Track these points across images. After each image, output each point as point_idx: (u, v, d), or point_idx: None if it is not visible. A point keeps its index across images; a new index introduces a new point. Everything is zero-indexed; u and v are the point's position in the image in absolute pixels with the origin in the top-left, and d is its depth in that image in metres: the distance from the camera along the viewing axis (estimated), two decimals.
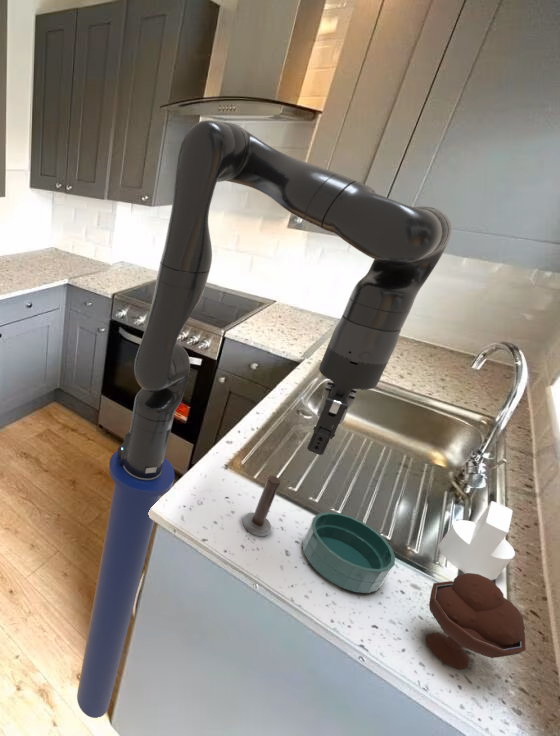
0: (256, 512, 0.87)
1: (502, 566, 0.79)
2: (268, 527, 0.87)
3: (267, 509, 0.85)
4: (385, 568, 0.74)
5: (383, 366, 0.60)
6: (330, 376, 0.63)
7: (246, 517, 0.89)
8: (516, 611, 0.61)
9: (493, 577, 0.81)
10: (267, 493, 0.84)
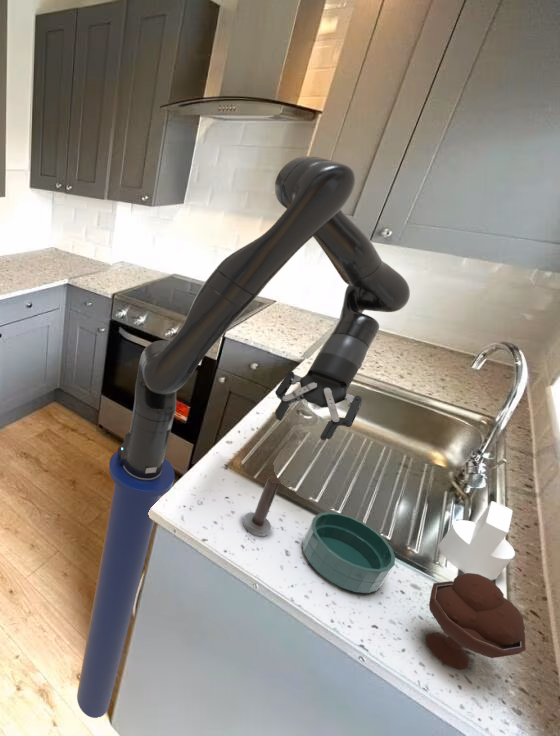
0: (256, 512, 0.87)
1: (502, 566, 0.79)
2: (268, 527, 0.87)
3: (267, 509, 0.85)
4: (385, 568, 0.74)
5: None
6: (346, 380, 0.84)
7: (246, 517, 0.89)
8: (516, 611, 0.61)
9: (493, 577, 0.81)
10: (267, 493, 0.84)
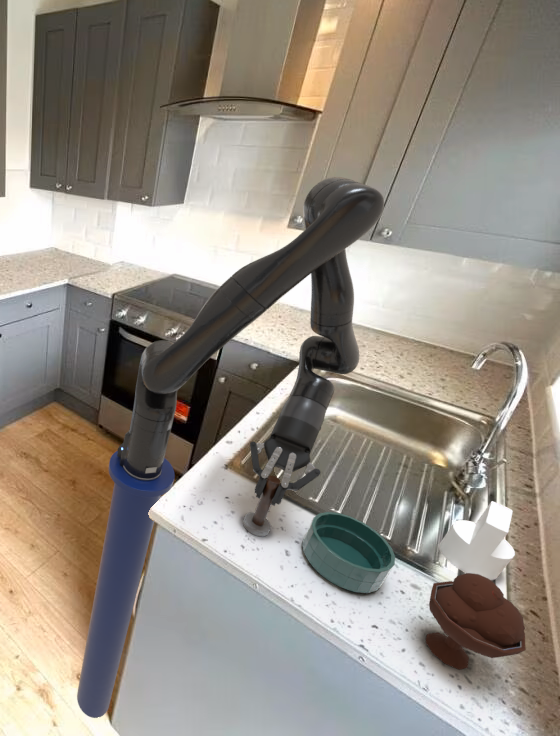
0: (256, 512, 0.87)
1: (502, 566, 0.79)
2: (268, 527, 0.87)
3: (267, 509, 0.85)
4: (385, 568, 0.74)
5: None
6: (309, 445, 0.83)
7: (246, 517, 0.89)
8: (516, 611, 0.61)
9: (493, 577, 0.81)
10: (267, 493, 0.84)
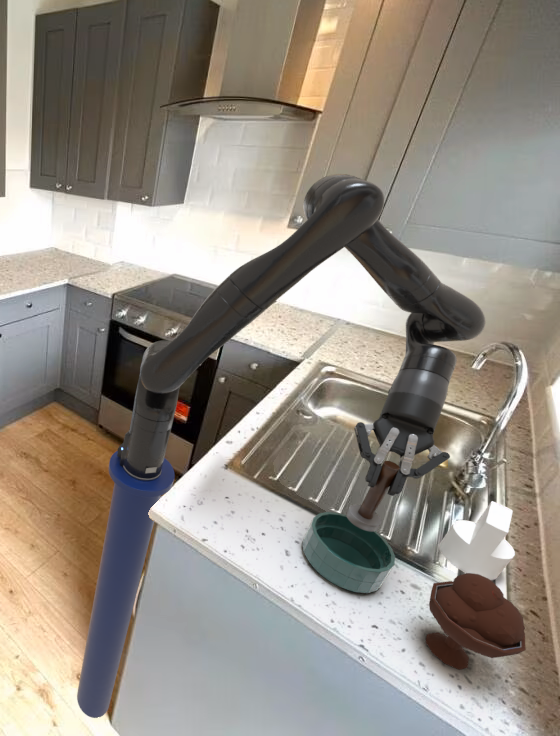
0: (365, 503, 0.75)
1: (502, 566, 0.79)
2: (379, 521, 0.76)
3: (380, 500, 0.74)
4: (385, 568, 0.74)
5: None
6: (433, 425, 0.71)
7: (351, 509, 0.78)
8: (516, 611, 0.61)
9: (493, 577, 0.81)
10: (382, 481, 0.72)
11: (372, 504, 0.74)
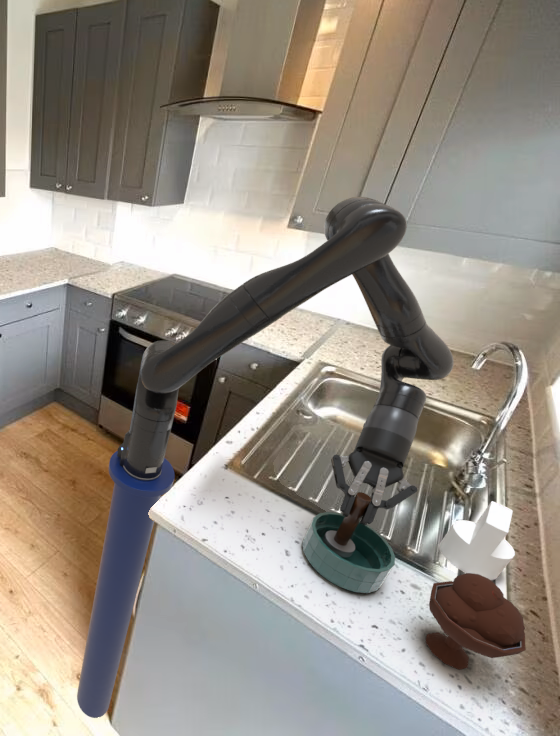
0: (340, 531, 0.81)
1: (502, 566, 0.79)
2: (353, 547, 0.81)
3: (354, 528, 0.79)
4: (385, 568, 0.74)
5: None
6: (403, 459, 0.76)
7: (327, 536, 0.83)
8: (516, 611, 0.61)
9: (493, 577, 0.81)
10: (355, 511, 0.77)
11: (346, 532, 0.80)
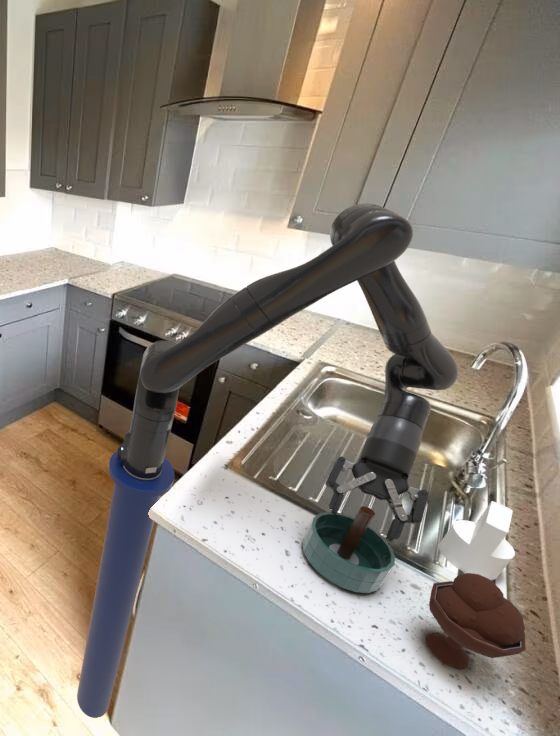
0: (343, 545, 0.80)
1: (502, 566, 0.79)
2: (356, 561, 0.80)
3: (357, 542, 0.78)
4: (385, 568, 0.74)
5: None
6: (408, 471, 0.76)
7: (330, 549, 0.82)
8: (516, 611, 0.61)
9: (493, 577, 0.81)
10: (359, 525, 0.77)
11: (350, 546, 0.79)
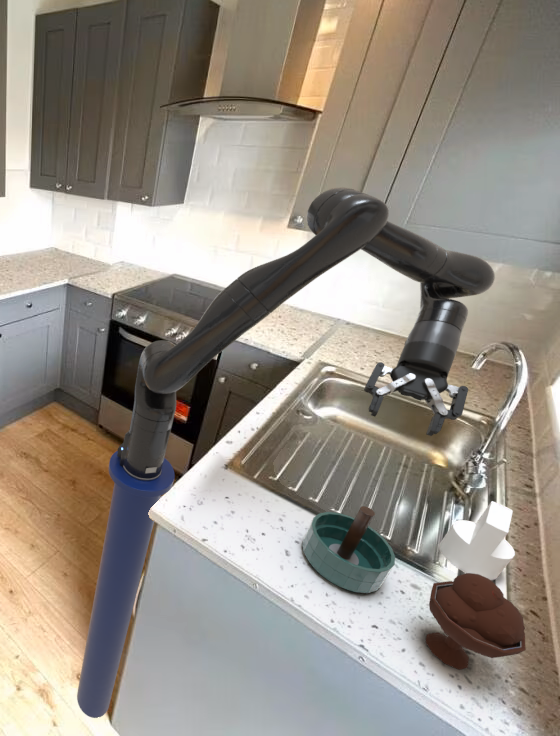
0: (343, 545, 0.80)
1: (502, 566, 0.79)
2: (356, 561, 0.80)
3: (357, 542, 0.78)
4: (385, 568, 0.74)
5: None
6: (447, 369, 0.78)
7: (330, 549, 0.82)
8: (516, 611, 0.61)
9: (493, 577, 0.81)
10: (359, 525, 0.77)
11: (350, 546, 0.79)
